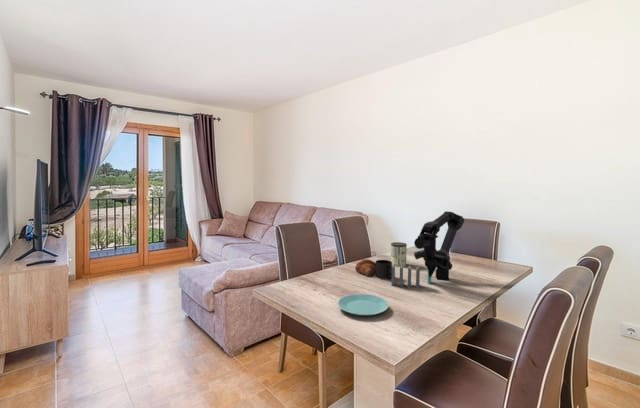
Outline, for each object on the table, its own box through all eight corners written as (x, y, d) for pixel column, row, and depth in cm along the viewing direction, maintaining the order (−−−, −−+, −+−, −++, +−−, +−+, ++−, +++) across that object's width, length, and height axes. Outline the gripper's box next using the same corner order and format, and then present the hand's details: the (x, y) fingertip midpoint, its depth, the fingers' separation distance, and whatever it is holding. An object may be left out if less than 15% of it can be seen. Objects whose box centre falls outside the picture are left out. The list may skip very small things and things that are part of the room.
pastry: (347, 271, 192) (347, 258, 191) (363, 266, 202) (363, 254, 201) (368, 277, 179) (368, 264, 178) (384, 272, 189) (384, 259, 189)
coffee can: (395, 261, 214) (395, 241, 213) (409, 264, 207) (409, 243, 205) (387, 264, 206) (387, 243, 205) (401, 267, 199) (401, 246, 198)
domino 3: (410, 284, 166) (411, 266, 166) (410, 287, 162) (411, 268, 161) (407, 284, 167) (408, 266, 166) (407, 287, 162) (408, 268, 161)
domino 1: (394, 283, 169) (395, 265, 168) (394, 286, 164) (394, 267, 163) (391, 282, 169) (392, 264, 168) (391, 285, 164) (391, 267, 164)
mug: (386, 281, 171) (387, 265, 170) (372, 276, 181) (372, 261, 180) (398, 278, 176) (398, 263, 175) (383, 273, 186) (383, 258, 185)
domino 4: (418, 285, 165) (419, 266, 165) (419, 288, 161) (419, 269, 160) (415, 284, 166) (416, 266, 165) (416, 287, 161) (416, 269, 160)
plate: (353, 324, 120) (353, 317, 120) (329, 303, 141) (329, 297, 140) (399, 314, 129) (399, 308, 129) (370, 296, 150) (370, 290, 149)
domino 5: (430, 281, 171) (430, 263, 171) (431, 284, 167) (431, 266, 166) (427, 281, 172) (427, 263, 171) (428, 284, 167) (428, 265, 166)
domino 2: (402, 283, 168) (403, 265, 167) (402, 286, 163) (403, 268, 162) (399, 283, 168) (400, 265, 167) (399, 286, 163) (399, 268, 162)
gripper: (414, 242, 179) (413, 268, 180) (415, 249, 161) (414, 278, 162) (434, 243, 176) (433, 269, 177) (438, 250, 158) (437, 280, 159)
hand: (429, 274), depth 169 cm, fingers open, 9 cm apart
